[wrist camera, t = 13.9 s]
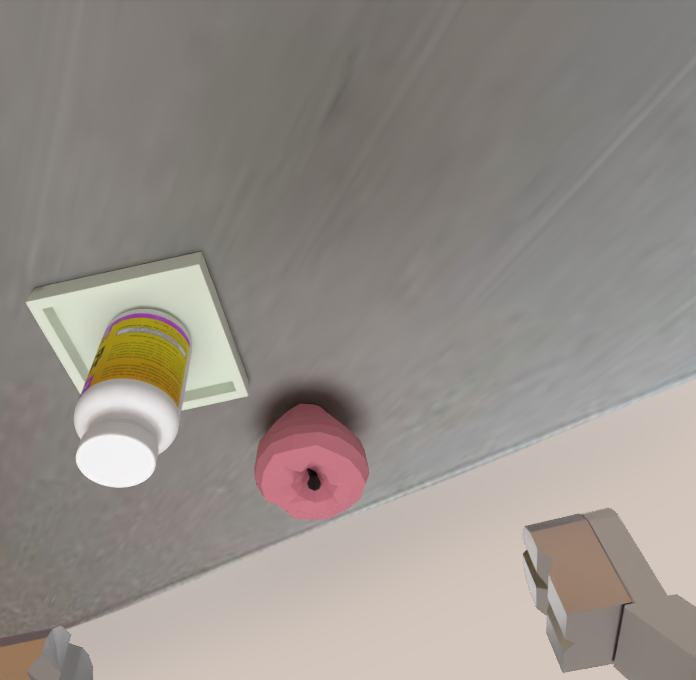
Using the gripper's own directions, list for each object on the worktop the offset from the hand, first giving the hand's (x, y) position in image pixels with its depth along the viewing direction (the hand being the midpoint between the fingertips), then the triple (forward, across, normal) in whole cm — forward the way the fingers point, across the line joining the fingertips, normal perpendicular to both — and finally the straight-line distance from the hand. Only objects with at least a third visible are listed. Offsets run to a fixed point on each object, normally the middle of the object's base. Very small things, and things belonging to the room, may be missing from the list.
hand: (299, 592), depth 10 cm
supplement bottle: (+34, +14, +15) cm, 39 cm away
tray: (+34, +14, +15) cm, 40 cm away
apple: (+34, +4, +27) cm, 44 cm away
